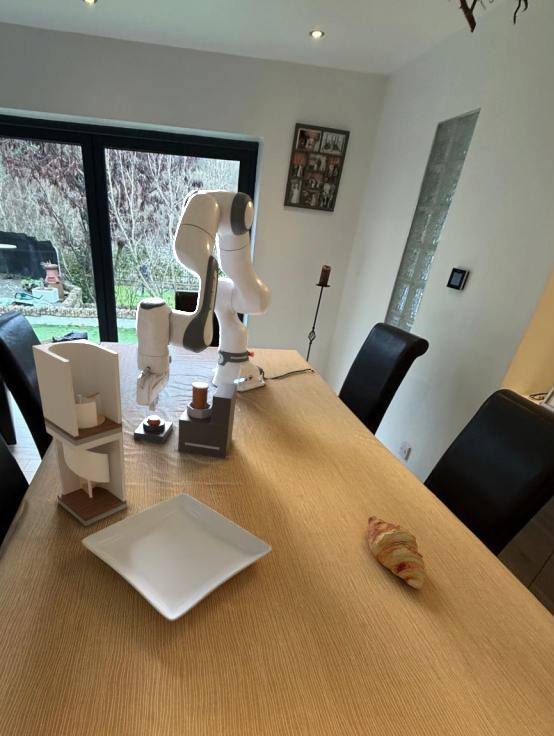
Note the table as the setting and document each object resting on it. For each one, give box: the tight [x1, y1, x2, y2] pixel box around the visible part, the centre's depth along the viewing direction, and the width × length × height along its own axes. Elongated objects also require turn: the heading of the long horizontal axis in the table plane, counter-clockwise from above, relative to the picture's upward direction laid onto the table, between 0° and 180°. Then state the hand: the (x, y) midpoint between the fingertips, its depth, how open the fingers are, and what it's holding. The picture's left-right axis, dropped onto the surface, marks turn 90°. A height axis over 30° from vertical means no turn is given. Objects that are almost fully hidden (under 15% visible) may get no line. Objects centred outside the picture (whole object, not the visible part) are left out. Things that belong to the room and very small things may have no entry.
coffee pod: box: [191, 381, 210, 410], centre depth 117 cm, size 5×5×8 cm
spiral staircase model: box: [31, 338, 128, 527], centre depth 86 cm, size 11×11×35 cm
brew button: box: [147, 414, 161, 425], centre depth 126 cm, size 4×4×2 cm
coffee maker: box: [177, 382, 238, 459], centre depth 120 cm, size 12×14×18 cm
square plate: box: [81, 492, 273, 622], centre depth 82 cm, size 27×27×4 cm
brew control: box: [133, 417, 174, 444], centre depth 127 cm, size 11×9×4 cm
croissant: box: [366, 515, 426, 590], centre depth 88 cm, size 21×10×8 cm, turn 11°
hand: (153, 409), depth 124 cm, fingers closed
